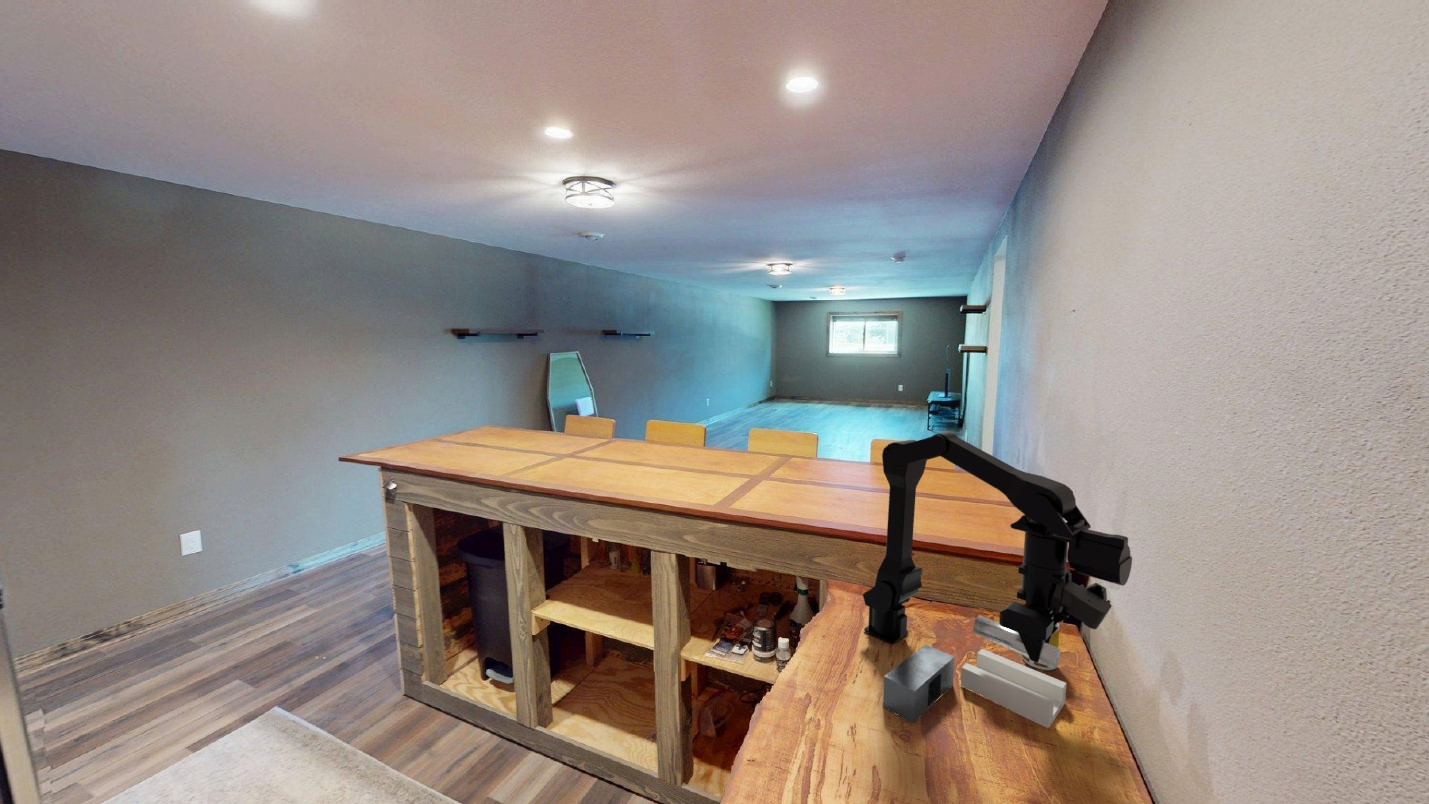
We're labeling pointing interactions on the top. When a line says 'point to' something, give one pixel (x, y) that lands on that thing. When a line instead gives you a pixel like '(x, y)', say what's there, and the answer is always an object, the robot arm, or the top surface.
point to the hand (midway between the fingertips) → (1038, 656)
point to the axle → (1013, 640)
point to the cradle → (1015, 687)
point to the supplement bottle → (1053, 642)
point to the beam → (918, 682)
